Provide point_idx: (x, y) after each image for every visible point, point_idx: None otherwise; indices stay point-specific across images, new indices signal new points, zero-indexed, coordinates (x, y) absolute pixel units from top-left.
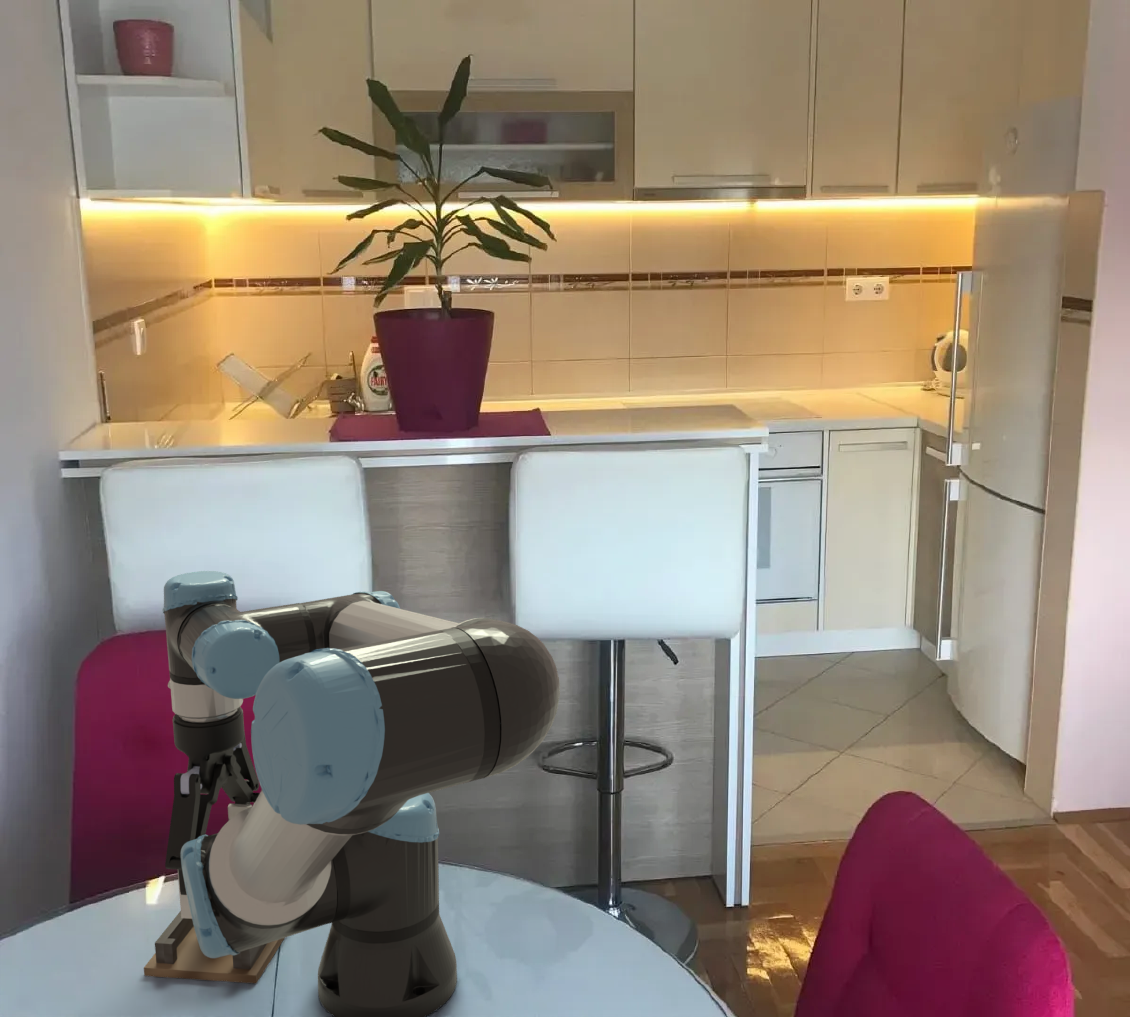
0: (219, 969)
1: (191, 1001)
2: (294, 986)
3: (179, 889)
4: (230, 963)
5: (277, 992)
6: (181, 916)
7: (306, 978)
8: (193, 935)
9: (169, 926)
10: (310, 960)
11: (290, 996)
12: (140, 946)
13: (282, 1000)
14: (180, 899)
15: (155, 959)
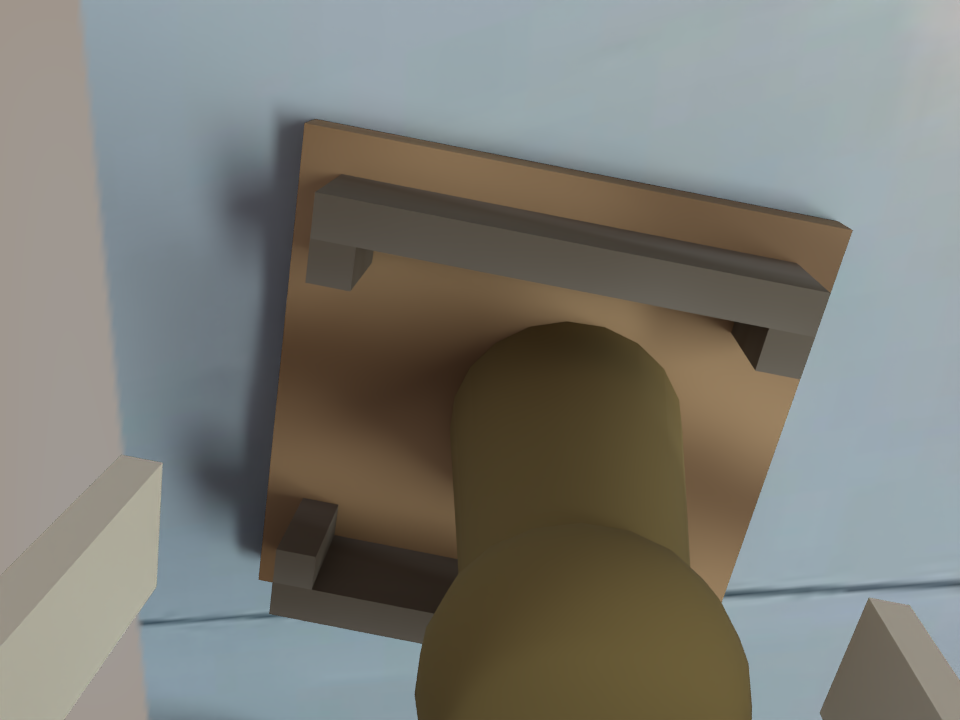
0: (292, 450)
1: (155, 358)
2: (258, 670)
3: (12, 567)
4: (333, 483)
5: (223, 626)
6: (117, 460)
7: (302, 699)
8: (557, 292)
9: (467, 230)
10: (406, 703)
11: (204, 664)
12: (558, 25)
13: (182, 644)
14: (55, 524)
15: (370, 161)
